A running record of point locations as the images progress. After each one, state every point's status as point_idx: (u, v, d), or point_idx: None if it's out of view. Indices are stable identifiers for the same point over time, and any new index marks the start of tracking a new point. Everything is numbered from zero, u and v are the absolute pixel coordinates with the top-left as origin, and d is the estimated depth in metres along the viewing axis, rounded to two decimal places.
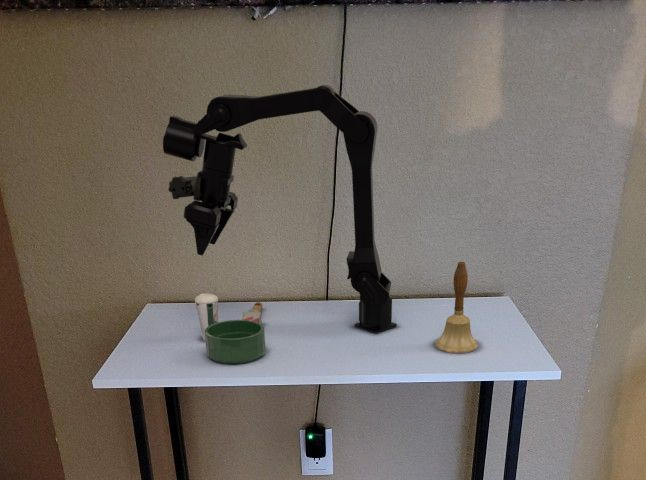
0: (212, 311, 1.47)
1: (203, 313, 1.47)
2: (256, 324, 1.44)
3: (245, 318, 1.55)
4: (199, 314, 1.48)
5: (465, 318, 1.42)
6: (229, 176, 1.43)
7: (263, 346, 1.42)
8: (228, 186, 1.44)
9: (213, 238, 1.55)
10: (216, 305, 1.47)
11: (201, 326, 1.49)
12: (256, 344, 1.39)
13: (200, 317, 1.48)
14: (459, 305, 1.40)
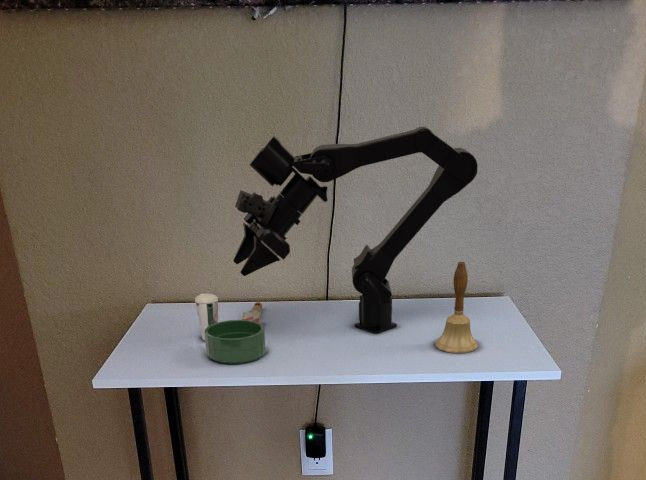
0: (212, 311, 1.47)
1: (203, 313, 1.47)
2: (256, 324, 1.44)
3: (245, 318, 1.55)
4: (199, 314, 1.48)
5: (465, 318, 1.42)
6: (299, 217, 1.43)
7: (263, 346, 1.42)
8: None
9: (239, 258, 1.50)
10: (216, 305, 1.47)
11: (201, 326, 1.49)
12: (256, 344, 1.39)
13: (200, 317, 1.48)
14: (459, 305, 1.40)
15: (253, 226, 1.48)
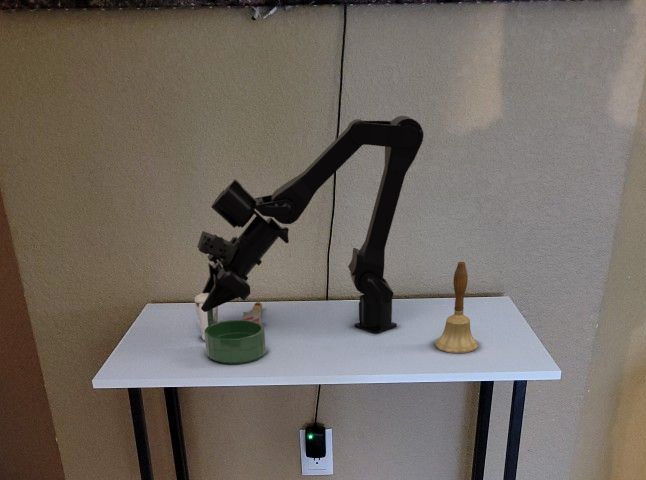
0: (211, 310, 1.47)
1: (203, 312, 1.47)
2: (256, 324, 1.44)
3: (245, 318, 1.55)
4: (199, 313, 1.48)
5: (465, 318, 1.42)
6: None
7: (263, 346, 1.42)
8: None
9: None
10: None
11: (201, 326, 1.49)
12: (256, 344, 1.39)
13: (200, 316, 1.48)
14: (459, 305, 1.40)
15: (218, 267, 1.48)
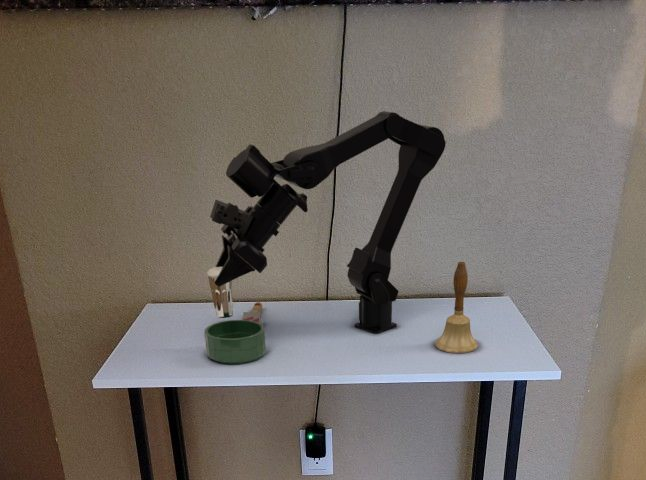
0: (225, 285, 1.38)
1: (216, 287, 1.38)
2: (256, 324, 1.44)
3: (245, 318, 1.55)
4: (212, 288, 1.39)
5: (465, 318, 1.42)
6: None
7: (263, 346, 1.42)
8: (271, 236, 1.37)
9: None
10: None
11: (214, 302, 1.41)
12: (256, 344, 1.39)
13: (213, 291, 1.39)
14: (459, 305, 1.40)
15: (232, 239, 1.40)
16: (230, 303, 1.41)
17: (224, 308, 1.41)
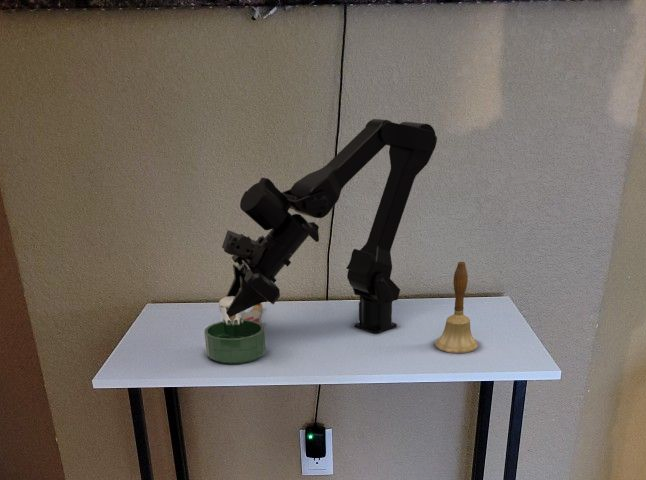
0: (237, 315, 1.38)
1: (228, 317, 1.38)
2: (256, 324, 1.44)
3: (245, 318, 1.55)
4: (224, 318, 1.39)
5: (465, 318, 1.42)
6: None
7: (263, 346, 1.42)
8: None
9: None
10: None
11: (226, 331, 1.40)
12: (256, 344, 1.39)
13: (225, 321, 1.39)
14: (459, 305, 1.40)
15: (243, 269, 1.39)
16: (241, 332, 1.41)
17: (235, 337, 1.40)
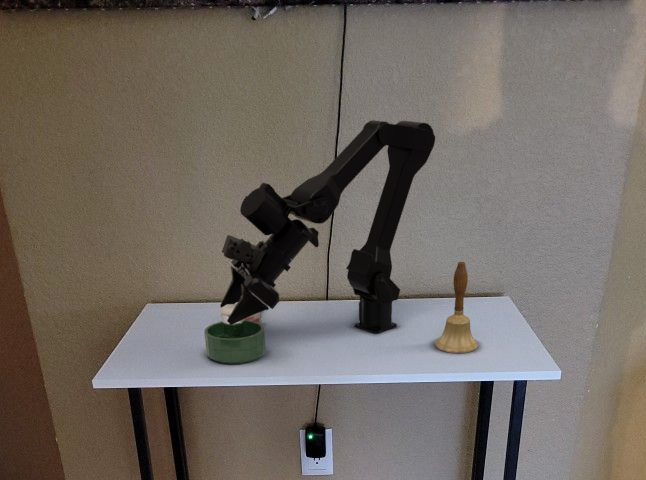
0: (238, 323, 1.39)
1: (229, 325, 1.39)
2: (256, 324, 1.44)
3: (245, 318, 1.55)
4: (224, 326, 1.39)
5: (465, 318, 1.42)
6: (289, 263, 1.37)
7: (263, 346, 1.42)
8: (282, 271, 1.37)
9: (226, 304, 1.43)
10: None
11: None
12: (256, 344, 1.39)
13: (226, 329, 1.39)
14: (459, 305, 1.40)
15: (241, 270, 1.41)
16: None
17: None
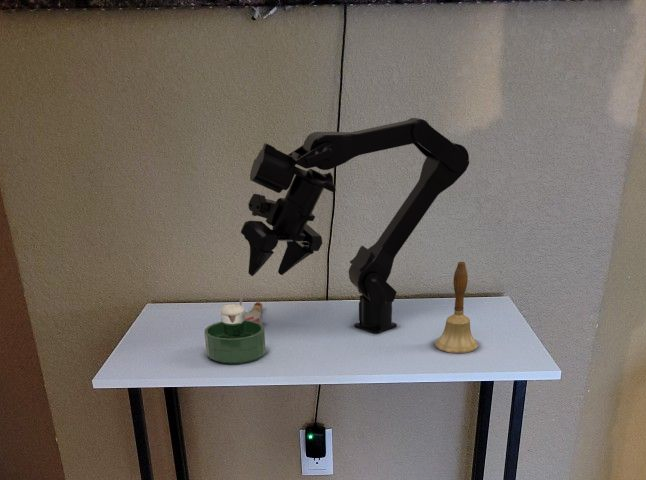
0: (238, 323, 1.39)
1: (229, 325, 1.39)
2: (256, 324, 1.44)
3: (245, 318, 1.55)
4: (224, 326, 1.39)
5: (465, 318, 1.42)
6: (305, 213, 1.39)
7: (263, 346, 1.42)
8: (301, 222, 1.40)
9: (282, 269, 1.51)
10: (242, 317, 1.39)
11: None
12: (256, 344, 1.39)
13: (226, 329, 1.39)
14: (459, 305, 1.40)
15: None
16: None
17: None
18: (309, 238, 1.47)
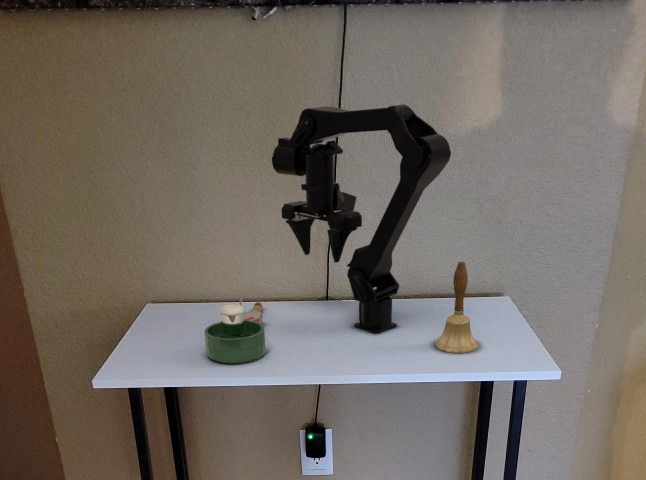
0: (238, 323, 1.39)
1: (229, 325, 1.39)
2: (256, 324, 1.44)
3: (245, 318, 1.55)
4: (224, 326, 1.39)
5: (465, 318, 1.42)
6: (306, 183, 1.48)
7: (263, 346, 1.42)
8: (307, 193, 1.49)
9: None
10: (242, 317, 1.39)
11: None
12: (256, 344, 1.39)
13: (226, 329, 1.39)
14: (459, 305, 1.40)
15: None
16: None
17: None
18: None
